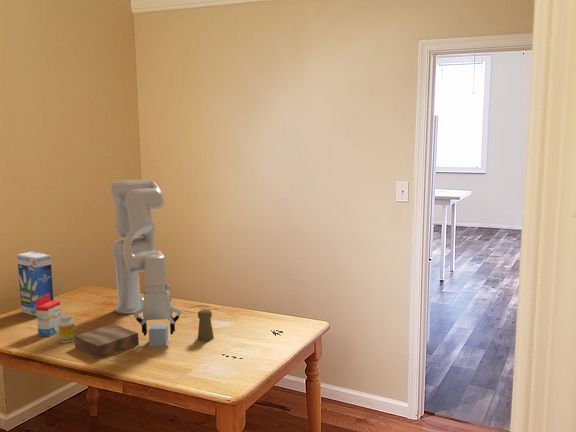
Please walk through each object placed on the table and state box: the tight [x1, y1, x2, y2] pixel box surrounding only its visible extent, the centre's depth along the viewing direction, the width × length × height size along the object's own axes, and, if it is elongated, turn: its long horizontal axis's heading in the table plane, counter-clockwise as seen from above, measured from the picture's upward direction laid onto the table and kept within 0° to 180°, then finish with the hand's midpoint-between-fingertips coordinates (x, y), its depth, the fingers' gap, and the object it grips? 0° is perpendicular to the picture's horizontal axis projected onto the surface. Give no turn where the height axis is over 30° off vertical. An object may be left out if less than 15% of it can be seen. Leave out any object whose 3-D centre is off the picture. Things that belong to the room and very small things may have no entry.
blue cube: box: [148, 324, 169, 347], centre depth 210 cm, size 6×6×6 cm
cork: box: [197, 308, 215, 342], centre depth 214 cm, size 6×6×11 cm
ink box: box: [36, 293, 62, 337], centre depth 221 cm, size 8×5×15 cm, turn 168°
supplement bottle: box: [58, 313, 76, 344], centre depth 213 cm, size 5×5×10 cm
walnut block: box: [74, 323, 140, 360], centre depth 207 cm, size 16×16×5 cm
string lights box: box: [16, 251, 54, 317], centre depth 245 cm, size 13×8×26 cm, turn 58°
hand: (158, 333), depth 209 cm, fingers open, 9 cm apart
